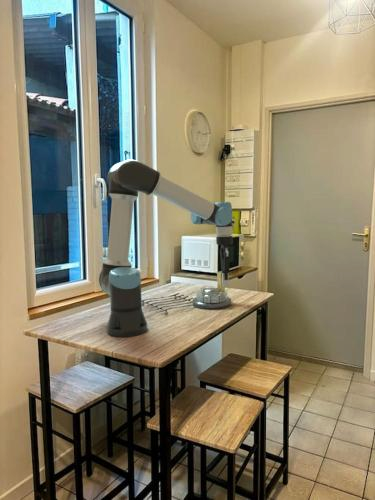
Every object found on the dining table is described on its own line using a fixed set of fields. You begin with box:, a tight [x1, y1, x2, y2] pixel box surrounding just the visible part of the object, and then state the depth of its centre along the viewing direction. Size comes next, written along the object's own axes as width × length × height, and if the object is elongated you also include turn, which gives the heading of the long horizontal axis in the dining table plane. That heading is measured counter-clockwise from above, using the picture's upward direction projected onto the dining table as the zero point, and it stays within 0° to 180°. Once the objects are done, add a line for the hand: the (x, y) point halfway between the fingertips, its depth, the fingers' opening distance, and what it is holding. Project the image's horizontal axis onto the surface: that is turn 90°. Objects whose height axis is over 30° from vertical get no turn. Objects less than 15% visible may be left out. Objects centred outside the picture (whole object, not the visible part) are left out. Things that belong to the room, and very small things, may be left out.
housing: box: [192, 287, 232, 310], centre depth 179 cm, size 18×18×7 cm
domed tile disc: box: [195, 271, 228, 303], centre depth 179 cm, size 14×14×12 cm
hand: (225, 286), depth 179 cm, fingers closed
